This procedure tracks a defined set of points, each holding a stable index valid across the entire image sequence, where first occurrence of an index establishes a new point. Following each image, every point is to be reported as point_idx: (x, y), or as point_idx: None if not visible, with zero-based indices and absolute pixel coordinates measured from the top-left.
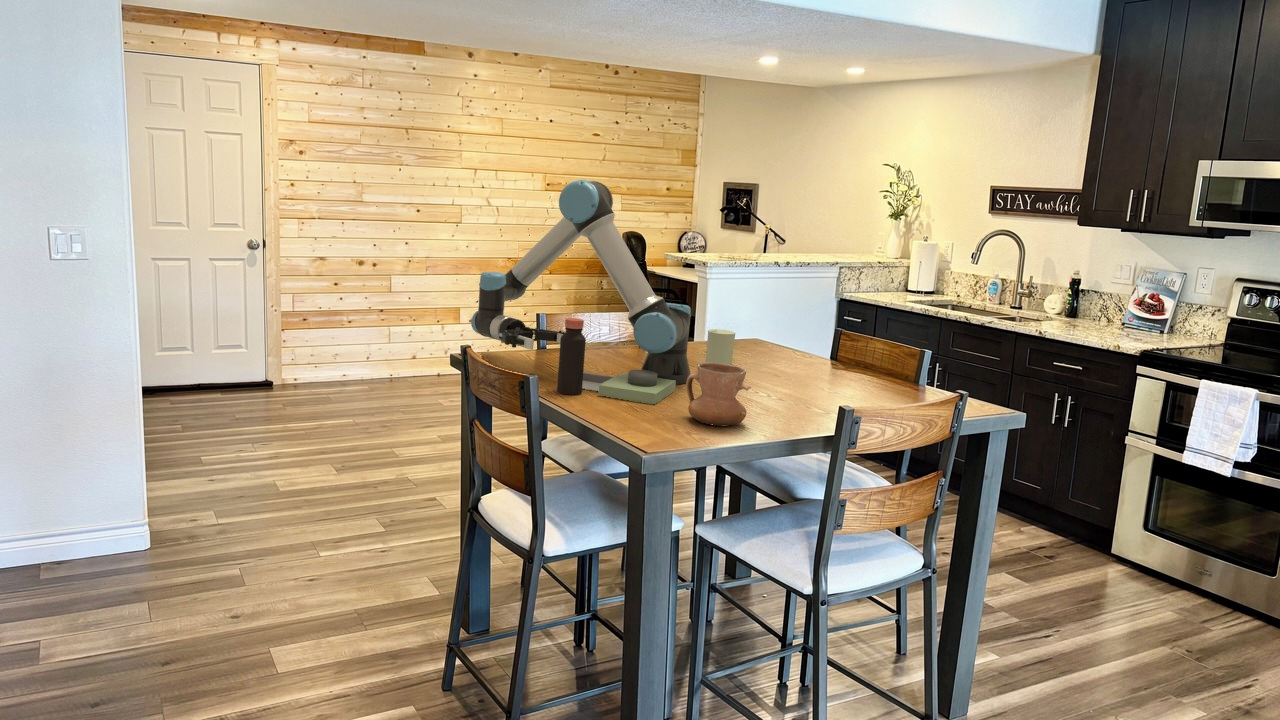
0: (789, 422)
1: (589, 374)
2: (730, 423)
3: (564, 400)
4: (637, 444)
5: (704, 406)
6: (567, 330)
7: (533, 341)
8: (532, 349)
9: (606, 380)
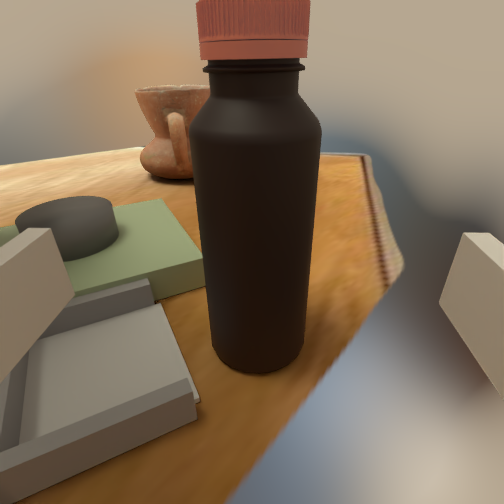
0: (106, 160)
1: (7, 402)
2: None
3: (336, 286)
4: (355, 164)
5: None
6: (298, 76)
7: (461, 246)
8: (446, 302)
9: None
